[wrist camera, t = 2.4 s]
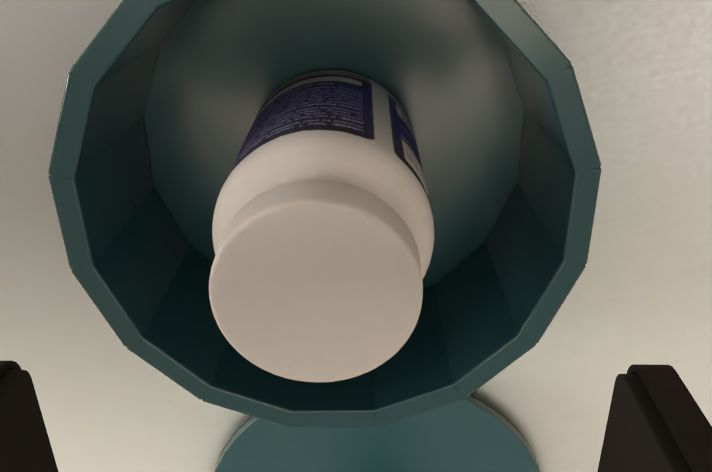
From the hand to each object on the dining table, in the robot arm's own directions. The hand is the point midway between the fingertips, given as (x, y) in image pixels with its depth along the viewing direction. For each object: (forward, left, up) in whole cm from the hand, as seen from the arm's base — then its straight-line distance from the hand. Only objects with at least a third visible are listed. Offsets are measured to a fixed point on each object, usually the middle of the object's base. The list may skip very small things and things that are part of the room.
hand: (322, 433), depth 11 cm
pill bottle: (0, 0, -14) cm, 14 cm away
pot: (0, 0, -14) cm, 14 cm away
